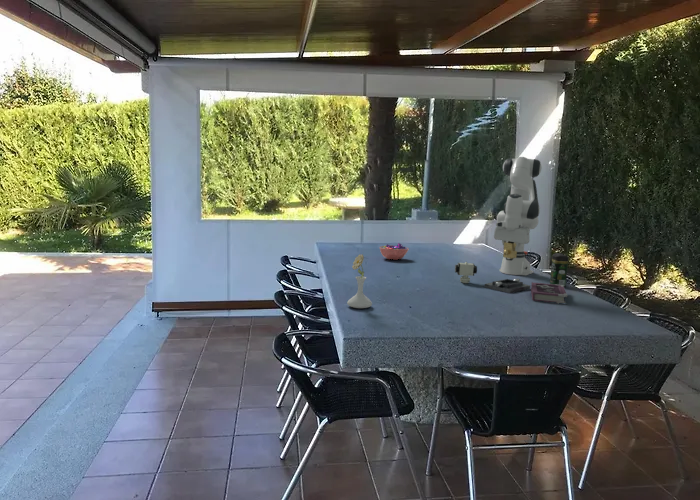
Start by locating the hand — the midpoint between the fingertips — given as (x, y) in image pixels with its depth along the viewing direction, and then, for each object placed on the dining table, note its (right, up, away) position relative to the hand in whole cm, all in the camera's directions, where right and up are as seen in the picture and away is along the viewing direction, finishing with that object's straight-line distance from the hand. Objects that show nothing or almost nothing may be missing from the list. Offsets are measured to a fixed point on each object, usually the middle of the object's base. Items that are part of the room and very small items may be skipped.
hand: (510, 249), depth 313 cm
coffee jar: (+31, -21, +15) cm, 40 cm away
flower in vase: (-83, -26, -51) cm, 101 cm away
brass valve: (0, -4, +1) cm, 4 cm away
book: (+16, -25, -14) cm, 32 cm away
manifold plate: (-1, -21, +3) cm, 21 cm away
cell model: (-57, -7, +80) cm, 99 cm away
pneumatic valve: (-22, -19, +14) cm, 32 cm away
